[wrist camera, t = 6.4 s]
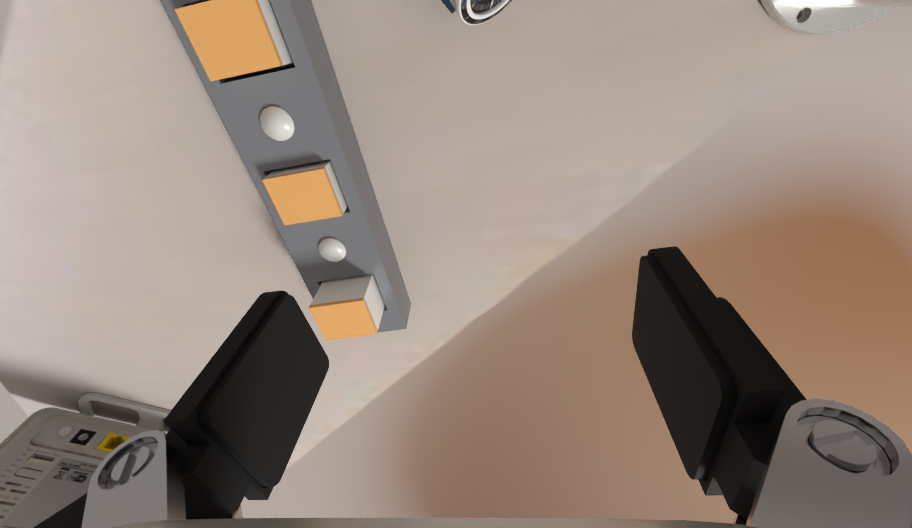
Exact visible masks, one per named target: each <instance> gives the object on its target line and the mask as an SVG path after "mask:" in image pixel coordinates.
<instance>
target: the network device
mask: <svg viewBox="0 0 912 528" xmlns="http://www.w3.org/2000/svg"><path fill="white" fill-rule="evenodd" d="M91 400H93V401H99V402H103V403H107V404H111V405H116V406H120V407H124V408H129V409H132V410H134V411H136V412H137V413H138V414H139V422H138V424H137V425H136V426H134V425H129V424H125V423H121V422H116V421H112V420H107V419H103V418H98V417H94V413H93V408H92V403H91ZM78 407H79V411H80V413H76V412H72V411H67V410H63V409H58V408H45V409H41V410H39V411H37V412H35V413H33V414H32V415H31V416H30V417H29V418H28V419H27V420H26V421H25V422H23V423H22V424H21V425H20V426H19V427H18V428H17V429H16V430H15V431H14V432H13V433H11V434H10V435H9V436H8V438H6V439H5V440H4V441H3V442H2V443H1V444H0V528H33V527H35V526H36V525H38V524H40V523H41V522H43V521H44V520H46V519H47V518H49V517H50V516H52V515H54V514H55V513H57V512H58V511H60V510H61V509H63V508H64V507H66V506H68V505H69V504H71V503H72V502H74V501H75V500H77V499H78V498H80V497H81V496H83V495H85V494H86V493H88V487H89V483H90V480H91V477H92V475H93V473H94V472H95V470H96V469H97V467H98V466H99V464H100V463H101V462H102V461H103V460H104V459H105V458H106V457H107V455H108V454H110V453H111V452H112V451H113V450H114V449H115V448H117V447H118V446H119V445H120V444H122V443H123V442H125V441H126V440H128V439H129V438H131V437H133V436H135V435H137V434H140V433H142V432H146V431H150V430H159V431H161V432H162V433H164V434H165V435H167V433H165V432H164V422H163V421H164V418H166V417H167V416H168V414H169V413H170V412H171V410H167V409H163V408H159V407H155V406H151V405H146V404H142V403H138V402H134V401H129V400H125V399H121V398H117V397H113V396H108V395H104V394H99V393H87V394H84V395H83V396H82V397H81V398H80V399H79V400H78Z"/></svg>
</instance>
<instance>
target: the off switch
mask: <svg viewBox="0 0 912 528" xmlns="http://www.w3.org/2000/svg"><path fill="white" fill-rule="evenodd" d="M384 306H385V302H384V300H383V297H382V295H381V292H380V289H379V287H378V284H377V281H376V279H375V276H374V274H368V275H361V276H354V277H347V278H340V279H334V280H327V281H323V282H322V284H321V286H320V287H319V289H318V291H317V293H316V295H315V297H314V299H313V301H312V303H311V305H310V306H309V310H310V312H311V313H312V315H313V317H314V319H315V321H316V323H317V325H318V327H319V328H320V330H321V332H322V334H323V336H324V338H325V340H332V339H340V338H348V337H356V336H364V335H372V334H377V332H378V328H379V325H380V321H381V317H382V314H383V310H384Z"/></svg>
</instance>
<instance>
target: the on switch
mask: <svg viewBox="0 0 912 528" xmlns="http://www.w3.org/2000/svg"><path fill="white" fill-rule="evenodd" d="M174 10H175V12H176V14H177V16H178V18H179V20H180V22H181V24H182V26H183V28H184V30H185V32H186V34H187V36H188V38H189V40H190V42H191V44H192V46H193V48H194V50H195V52H196V54H197V56H198V58H199V60H200V61H201V63H202V65H203V67H204V69H205V71H206V73H207V75H208V77H209V79H210V81H215V80H220V79H224V78H229V77H234V76H238V75H243V74H247V73H252V72H256V71H261V70H265V69H270V68H274V67H279V66H283V65H286V64H290V63H293V60H292V57H291V55H290V52H289V49H288V47H287V44H286V42H285V39H284V36H283V34H282V31H281V28H280V26H279V23H278V20H277V18H276V15H275V13H274V10H273V7H272V5H271V2H270V0H210V1H206V2H202V3H198V4H194V5H190V6H186V7H182V8H178V9H174Z"/></svg>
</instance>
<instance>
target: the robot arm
mask: <svg viewBox="0 0 912 528" xmlns="http://www.w3.org/2000/svg"><path fill="white" fill-rule="evenodd" d="M761 3H762V5H763V7H764V8H765V10H766V11H767V13H768V14H769V16H770V17H771V18H772V19H774V20H775V21H776V22H777V23H779V24H780V25H781V26H783V27H785V28H788V29H790V30H792V31H795V32H801V33H809V34H832V33H837V32H842V31H846V30H850V29H853V28H856V27H859V26H861V25H864V24H867V23H869V22H871V21H873V20H875V19H877V18H879V17H880V16H882V15H884V14H886V13H888V12H890V11H891V10H893V9H894V8H895V7H902V6H903V7H904V6H912V0H761ZM632 339H633V344H634V347H635V350H636V352H637V355H638V357H639V360H640V362H641V364H642V367H643V369H644V372H645V374H646V376H647V379H648V381H649V384H650V386H651V388H652V391H653V393H654V396H655V398H656V400H657V403H658V405H659V407H660V410H661V412H662V415H663V417H664V419H665V422H666V424H667V427H668V429H669V431H670V434H671V436H672V438H673V440H674V443H675V446H676V448H677V450H678V453H679V455H680V458H681V460H682V462H683V464H684V467H685V470H686V472H687V474H688V475H689V477H690V478H691V479H698V480H699V482H700V484H701V486H702V489H703V491H704V493H705V495H724V498H725V500H726V502H727V504H728V506H729V508H730V509H731V510H732V511H734V512H735V513H736V515H735V518H734V521H733V524H727V523H715V522H714V523H713V522H699V521H685V520H644V519H642V520H641V519H639V520H638V519H597V518H257V519H256V518H252V519H251V518H250V519H249V518H248V519H247V518H246V519H245V518H244V519H243V517H242V511H241V506H240V504H241V502H242V500H243V498H244V496H245V497H246V498H247V499H248V500H268V498H269V496H270V493H271V491H272V489H273V487H274V486H275V485H277V484H278V483H279V481H280V479H281V477H282V475H283V473H284V471H285V468H286V466H287V464H288V461H289V459H290V457H291V454H292V452H293V450H294V447H295V445H296V443H297V440H298V438H299V436H300V434H301V431H302V429H303V427H304V424H305V422H306V420H307V417H308V415H309V413H310V410H311V408H312V406H313V403H314V401H315V399H316V396H317V394H318V392H319V390H320V387H321V385H322V383H323V380H324V378H325V376H326V373H327V371H328V368H329V360H328V357H327V355H326V353H325V351H324V350H323V348H322V346H321V344H320V343H319V341H318V339H317V337H316V335H315V334H314V332H313V330H312V328H311V327H310V325H309V323H308V321H307V320H306V318H305V316H304V314H303V313H302V311H301V309H300V307H299V305H298V304H297V302H296V300H295V299H294V297H293V296H291V295H289V294H288V293H287V292H285V291H275V292H266V293H262V294H261V295H260V296H259V297H258V299H257V300H256V301H255V302H254V304H253V305H252V306H251V308H250V309H249V310H248V312H247V313H246V314H245V315H244V317H243V318H242V319H241V321H240V322H239V323H238V325H237V326H236V327H235V328H234V330H233V331H232V332H231V334H230V335H229V336H228V338H227V339H226V340H225V341H224V343H223V344H222V345H221V347H220V348H219V349H218V351H217V352H216V353H215V354H214V356H213V357H212V358H211V360H210V361H209V362H208V364H207V365H206V366H205V367H204V369H203V370H202V371H201V373H200V374H199V375H198V377H197V378H196V379H195V380H194V382H193V383H192V384H191V386H190V387H189V388H188V390H187V391H186V392H185V393H184V395H183V396H182V397H181V399H180V400H179V401H178V403H177V404H176V405H175V406H174V408H173V409H172V410H171V412H170V413H169V414H168V416H167V417H166V418H165V419H164V421H163V422H164V423H165V424H166V425H167V426H168V427H169V428H171V429H170V430H169V432H168V433H167V435H165V434H164V433H162V432H161V431H159V430H150V431H146V432H142V433H140V434H137V435H135V436H133V437H131V438H129V439H128V440H126V441H125V442H123V443H122V444H120V445H119V446H118V447H117V448H115V449H114V450H113V451H112V452H111V453H110V454H108V455H107V457H106V458H105V459H104V460H103V461H102V462H101V463H100V464H99V466H98V467H97V469H96V470H95V472H94V473H93V475H92V477H91V480H90V483H89V487H88V493H86V494H85V495H83V496H81V497H80V498H78V499H77V500H75V501H74V502H72V503H71V504H69V505H68V506H66V507H64V508H63V509H61V510H60V511H58V512H57V513H55V514H54V515H52V516H50V517H49V518H47V519H46V520H44V521H43V522H41V523H40V524H38V525H36V526H35V527H33V528H912V454H911V453H910V451H909V449H908V448H907V447H906V445H905V443H904V442H903V440H902V439H900V438H899V437H898V436H897V435H896V434H895V433H894V432H893V431H892V430H891V429H890V428H889V427H888V426H886V425H885V424H883V423H882V422H880V421H879V420H877V419H876V418H874V417H873V416H871V415H869V414H867V413H865V412H863V411H861V410H859V409H857V408H854V407H852V406H849V405H846V404H843V403H839V402H836V401H831V400H823V399H811V400H806V398H805V397H804V396H803V395H802V393H801V392H800V391H799V390H798V388H797V387H796V386H795V384H794V383H793V382H792V381H791V380H790V378H789V377H788V376H787V374H786V373H785V372H784V371H783V369H782V368H781V367H780V366H779V364H778V363H777V362H776V361H775V359H774V358H773V357H772V355H771V354H770V353H769V352H768V351H767V349H766V348H765V347H764V346H763V344H762V343H761V342H760V340H759V339H758V338H757V337H756V335H755V334H754V333H753V332H752V330H751V329H750V328H749V327H748V325H747V324H746V323H745V321H744V320H743V319H742V318H741V316H740V315H739V314H738V313H737V312H736V310H735V309H734V308H733V306H732V305H731V304H730V303H729V302H728V301H727V300H726V299H724V298H721V297H719V298H716V297H715V295H714V294H713V293H712V291H711V290H710V289H709V287H708V286H707V285H706V283H705V282H704V281H703V280H702V278H701V277H700V276H699V274H698V273H697V272H696V270H695V269H694V268H693V266H692V265H691V264H690V262H689V261H688V260H687V259H686V257H685V256H684V255H683V253H682V252H681V251H680V249H679V248H678V247H667V248H658V249H651V250H649V252H648V255H647V256H642V257H641V259H640V265H639V274H638V284H637V293H636V303H635V311H634V321H633V330H632Z"/></svg>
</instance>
